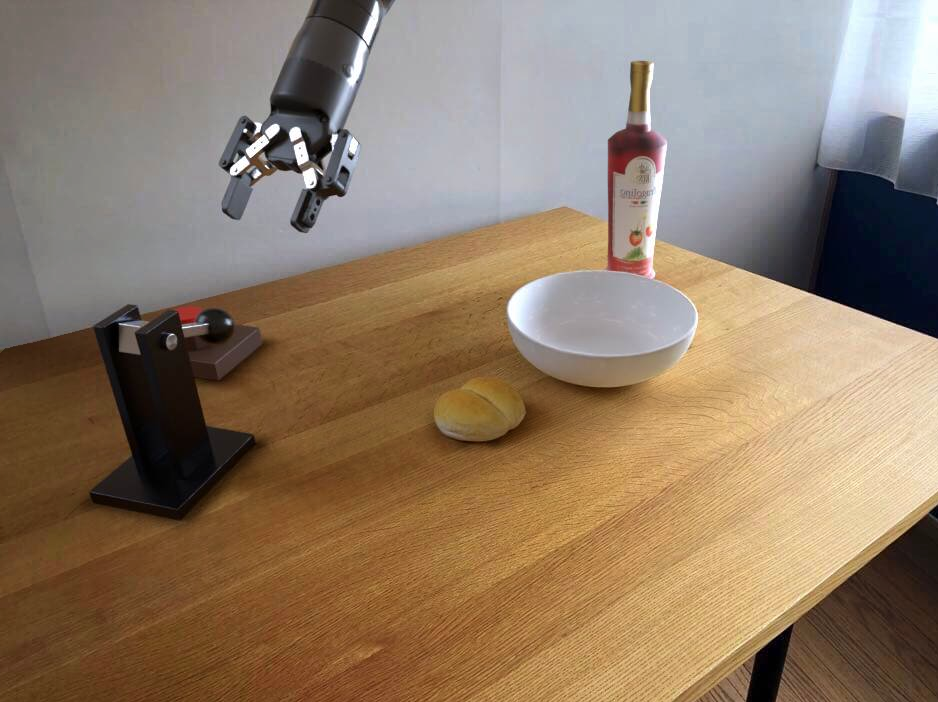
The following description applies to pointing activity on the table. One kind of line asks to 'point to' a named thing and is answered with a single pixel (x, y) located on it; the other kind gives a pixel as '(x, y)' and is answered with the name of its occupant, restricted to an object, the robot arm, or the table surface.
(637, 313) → the serving bowl
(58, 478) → the table surface
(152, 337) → the bracket
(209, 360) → the control block
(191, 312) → the stop button
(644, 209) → the liquor
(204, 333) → the lever
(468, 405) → the bread roll
